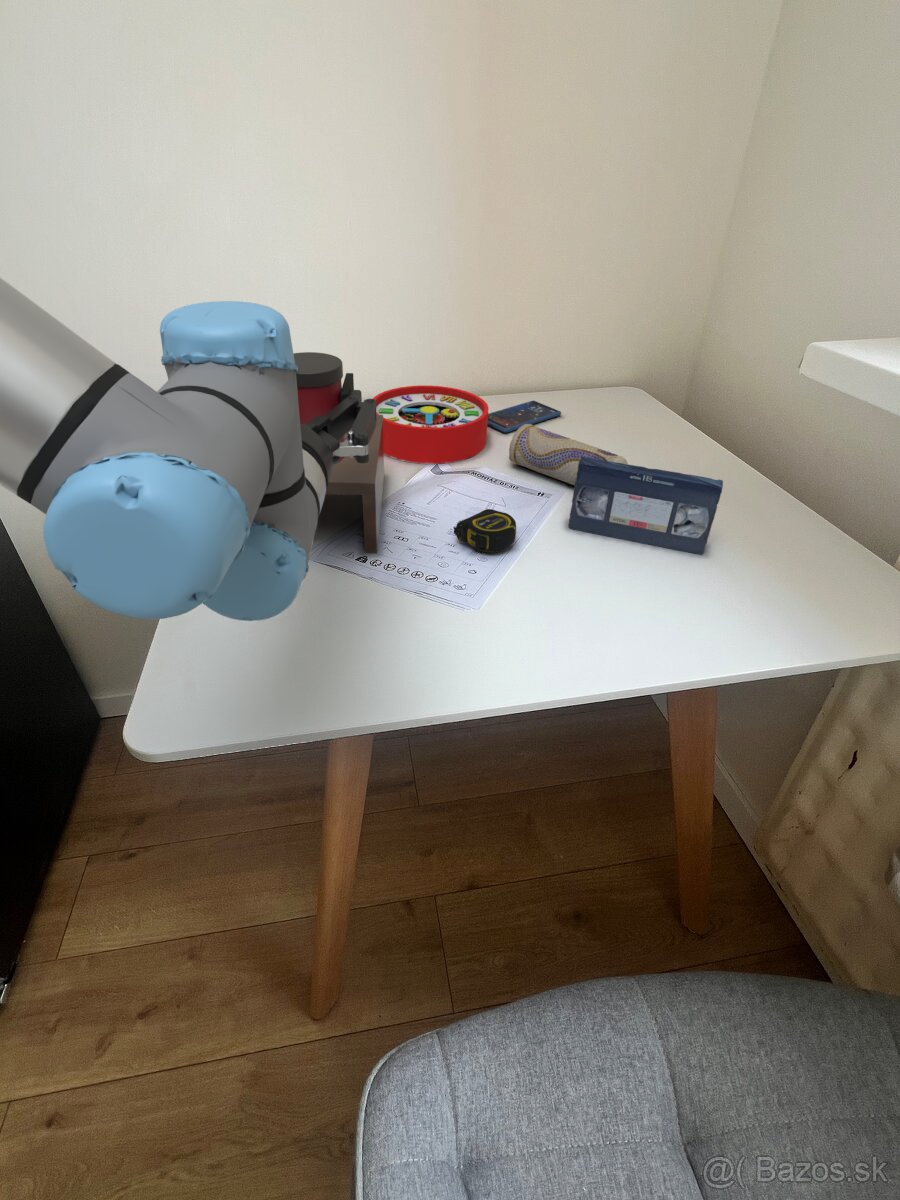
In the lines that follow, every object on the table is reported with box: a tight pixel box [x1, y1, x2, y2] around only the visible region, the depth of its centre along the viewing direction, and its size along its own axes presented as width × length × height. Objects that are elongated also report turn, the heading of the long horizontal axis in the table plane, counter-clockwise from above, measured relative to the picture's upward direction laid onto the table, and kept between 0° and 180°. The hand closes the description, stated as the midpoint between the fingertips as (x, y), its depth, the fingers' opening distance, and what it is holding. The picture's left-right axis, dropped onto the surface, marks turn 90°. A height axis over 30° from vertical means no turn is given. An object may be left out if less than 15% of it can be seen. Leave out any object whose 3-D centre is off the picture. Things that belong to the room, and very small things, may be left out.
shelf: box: [325, 415, 385, 554], centre depth 95 cm, size 18×22×10 cm
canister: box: [293, 351, 345, 464], centre depth 73 cm, size 7×7×10 cm
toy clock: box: [372, 384, 489, 465], centre depth 118 cm, size 20×6×20 cm
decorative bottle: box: [508, 424, 639, 486], centre depth 105 cm, size 26×8×7 cm, turn 50°
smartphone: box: [487, 400, 562, 433], centre depth 129 cm, size 8×1×15 cm
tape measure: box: [453, 508, 517, 553], centre depth 92 cm, size 7×7×4 cm
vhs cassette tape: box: [568, 457, 724, 555], centre depth 93 cm, size 18×3×10 cm, turn 70°
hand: (317, 384), depth 76 cm, fingers closed on canister, 6 cm apart
